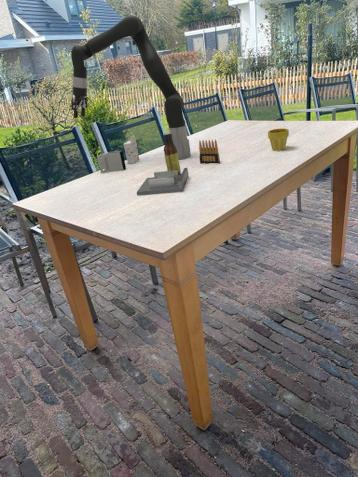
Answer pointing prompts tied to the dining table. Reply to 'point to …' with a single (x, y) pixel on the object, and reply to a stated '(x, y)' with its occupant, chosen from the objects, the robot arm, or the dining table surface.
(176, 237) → the dining table surface
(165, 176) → the plate
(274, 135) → the plant pot
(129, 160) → the ink cartridge box
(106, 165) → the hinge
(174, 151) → the sauce bottle
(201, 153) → the ammunition clip
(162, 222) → the dining table surface
